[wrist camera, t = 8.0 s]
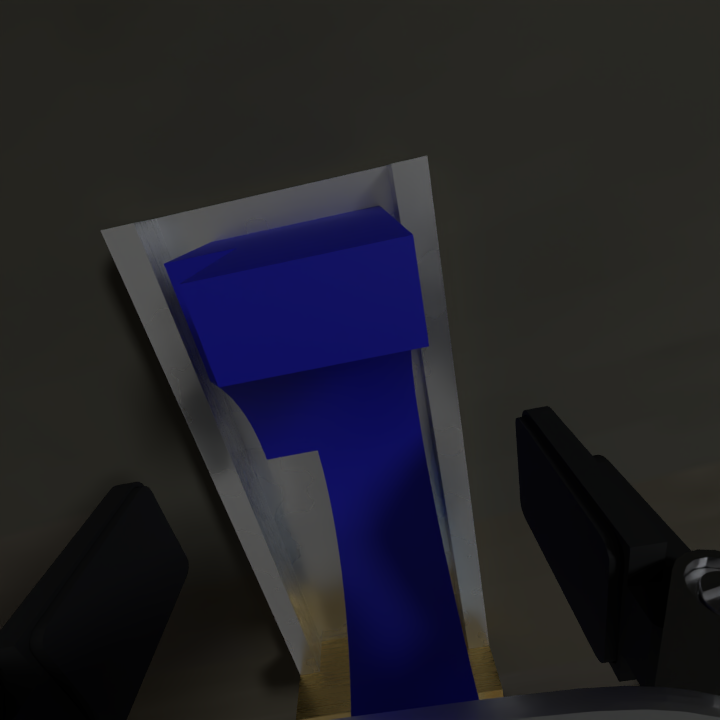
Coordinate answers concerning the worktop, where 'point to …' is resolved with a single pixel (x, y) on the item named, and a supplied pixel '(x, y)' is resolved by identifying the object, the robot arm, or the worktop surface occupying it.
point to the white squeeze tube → (304, 471)
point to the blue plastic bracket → (343, 424)
